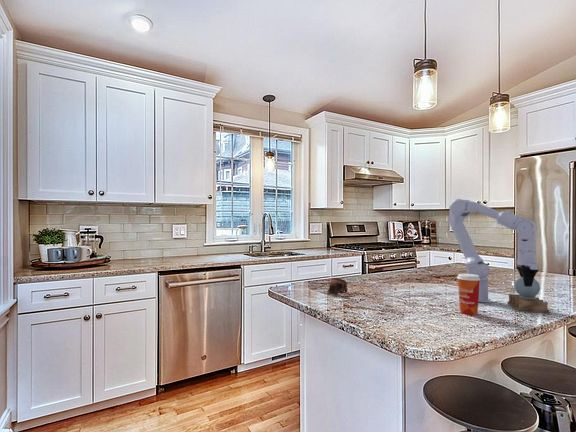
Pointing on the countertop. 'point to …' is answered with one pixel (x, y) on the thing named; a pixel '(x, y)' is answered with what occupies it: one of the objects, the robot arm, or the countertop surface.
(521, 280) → the grey rounded disc
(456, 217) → the robot arm
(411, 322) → the countertop surface
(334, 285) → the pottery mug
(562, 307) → the countertop surface
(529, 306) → the rack
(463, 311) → the paper cup
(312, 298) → the countertop surface
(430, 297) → the countertop surface
